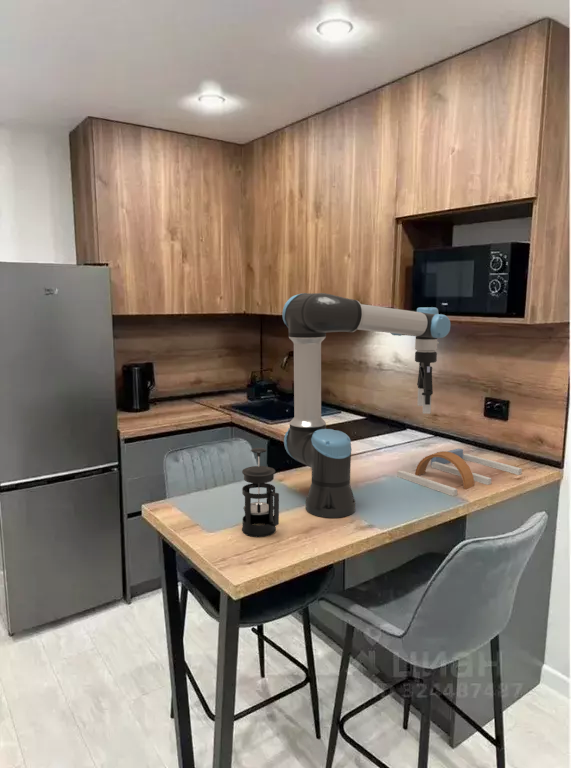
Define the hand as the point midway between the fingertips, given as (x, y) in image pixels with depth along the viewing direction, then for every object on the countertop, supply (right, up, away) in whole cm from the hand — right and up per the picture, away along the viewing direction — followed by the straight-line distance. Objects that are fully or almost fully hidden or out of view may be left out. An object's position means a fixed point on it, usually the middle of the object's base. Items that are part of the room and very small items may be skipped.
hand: (423, 409), depth 192 cm
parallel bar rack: (+14, -24, +1) cm, 28 cm away
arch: (+6, -25, -4) cm, 26 cm away
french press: (-57, -31, -46) cm, 80 cm away
